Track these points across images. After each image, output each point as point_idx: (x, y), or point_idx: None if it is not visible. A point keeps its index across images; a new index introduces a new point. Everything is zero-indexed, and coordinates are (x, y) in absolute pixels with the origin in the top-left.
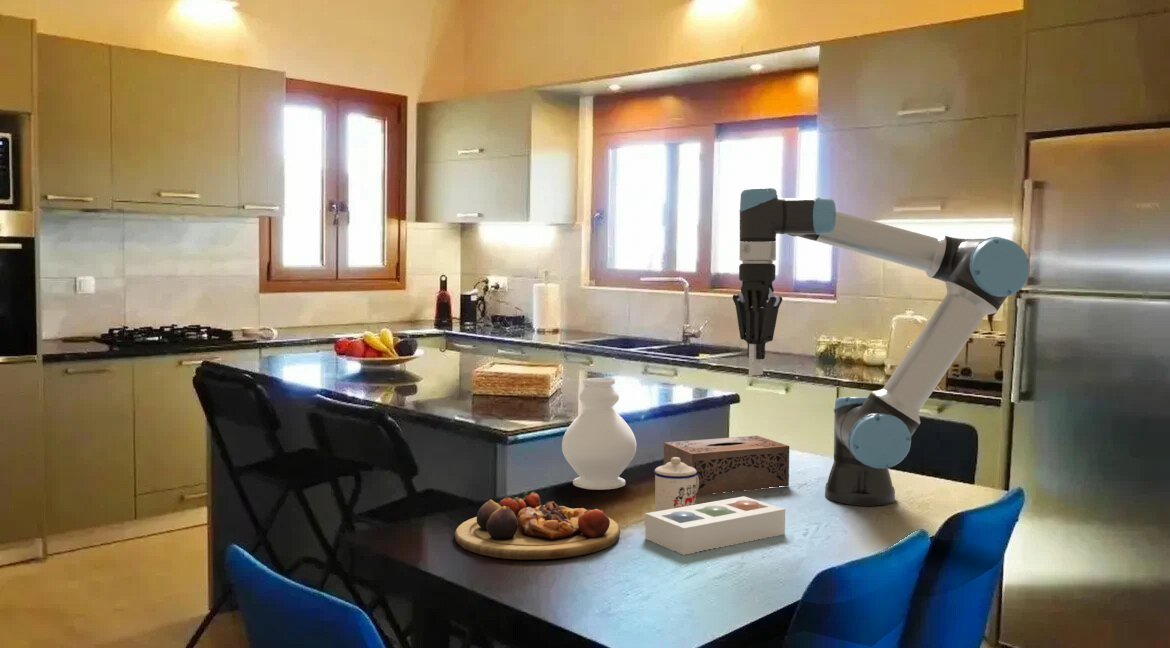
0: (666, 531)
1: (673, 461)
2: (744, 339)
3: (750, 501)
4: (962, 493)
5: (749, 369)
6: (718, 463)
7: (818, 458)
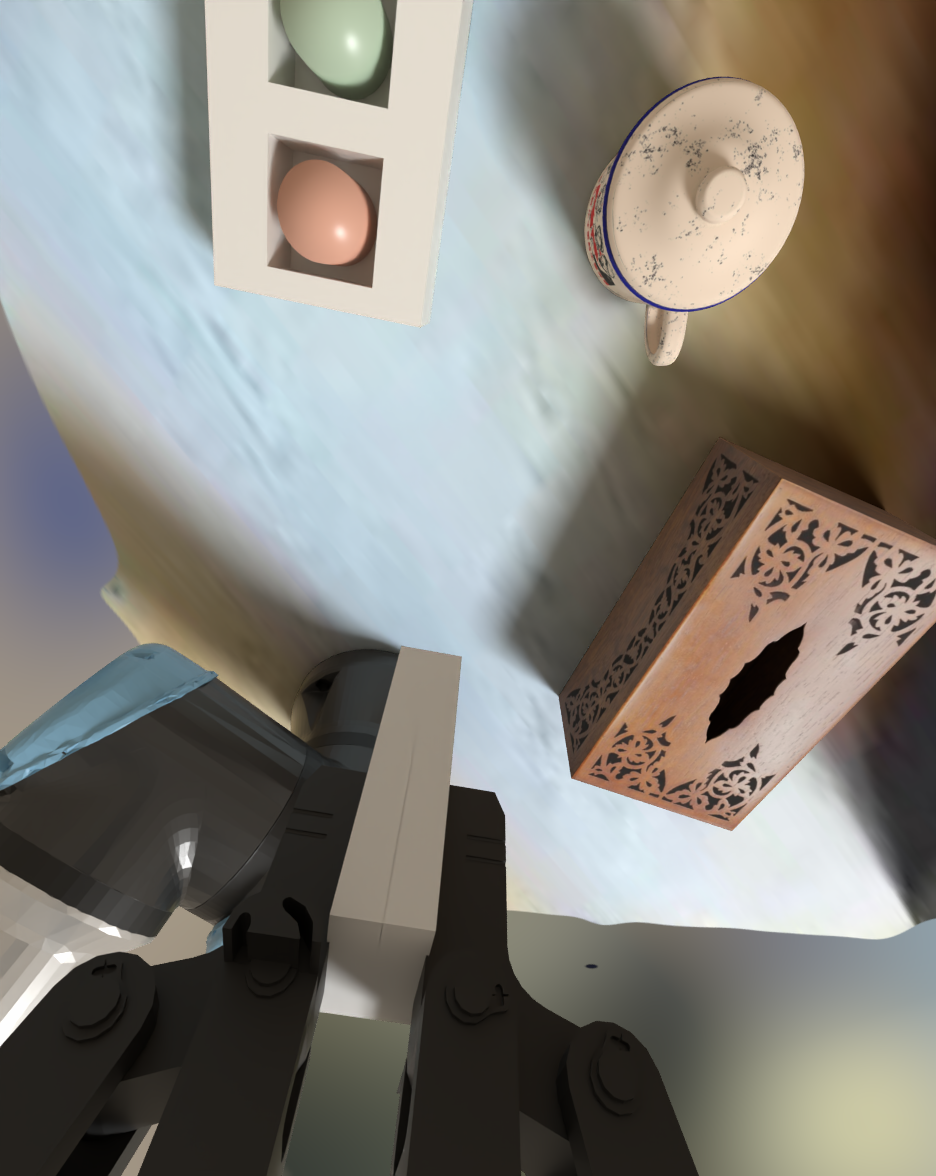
0: None
1: (719, 167)
2: (581, 1038)
3: (330, 247)
4: None
5: (449, 684)
6: (696, 559)
7: (650, 912)
